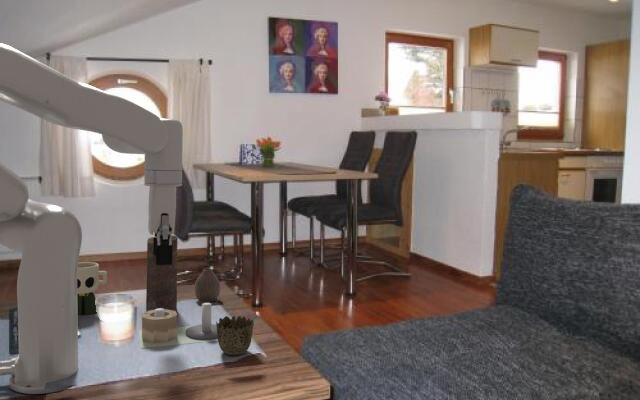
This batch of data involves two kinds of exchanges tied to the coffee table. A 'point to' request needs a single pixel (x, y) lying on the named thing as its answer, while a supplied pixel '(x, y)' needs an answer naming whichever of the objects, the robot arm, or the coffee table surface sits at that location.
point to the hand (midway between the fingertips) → (162, 259)
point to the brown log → (161, 280)
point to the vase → (207, 286)
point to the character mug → (88, 286)
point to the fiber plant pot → (234, 335)
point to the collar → (159, 326)
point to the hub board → (188, 330)
